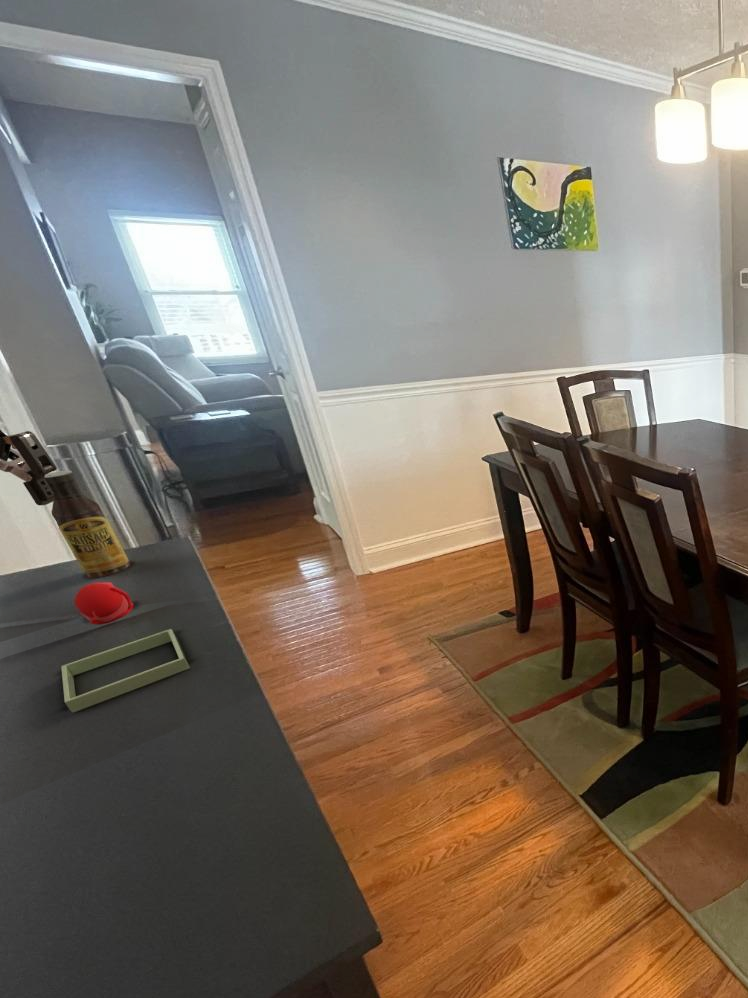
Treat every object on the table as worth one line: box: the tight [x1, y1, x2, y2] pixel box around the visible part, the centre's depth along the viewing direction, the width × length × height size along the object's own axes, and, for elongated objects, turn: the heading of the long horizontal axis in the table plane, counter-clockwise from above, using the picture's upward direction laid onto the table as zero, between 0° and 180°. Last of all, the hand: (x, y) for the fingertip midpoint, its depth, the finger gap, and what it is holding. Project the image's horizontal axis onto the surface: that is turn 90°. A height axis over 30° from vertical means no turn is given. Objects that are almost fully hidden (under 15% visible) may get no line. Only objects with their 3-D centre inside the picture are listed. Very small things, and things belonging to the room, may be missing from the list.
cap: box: [74, 581, 135, 626], centre depth 97 cm, size 8×6×6 cm
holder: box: [60, 628, 191, 714], centre depth 84 cm, size 12×12×2 cm
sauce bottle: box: [45, 470, 131, 579], centre depth 109 cm, size 6×6×20 cm
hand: (12, 506), depth 87 cm, fingers open, 8 cm apart
